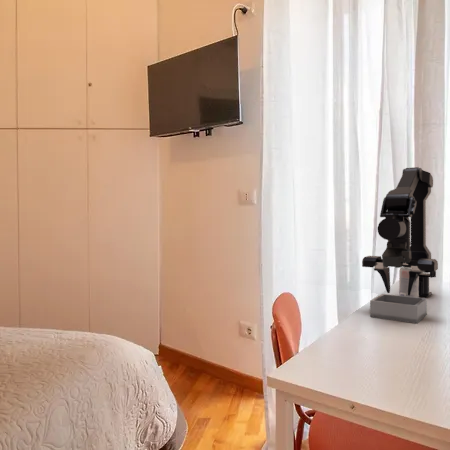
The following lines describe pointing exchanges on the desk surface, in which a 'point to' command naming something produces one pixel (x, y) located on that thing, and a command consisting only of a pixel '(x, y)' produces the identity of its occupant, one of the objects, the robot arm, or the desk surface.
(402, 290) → the energy drink
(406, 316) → the crate
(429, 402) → the desk surface
